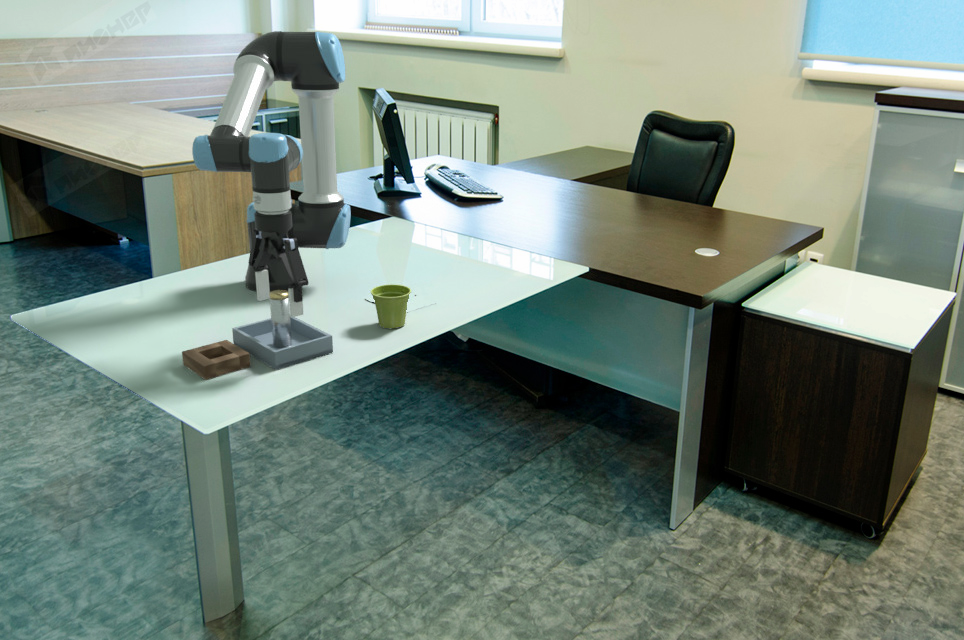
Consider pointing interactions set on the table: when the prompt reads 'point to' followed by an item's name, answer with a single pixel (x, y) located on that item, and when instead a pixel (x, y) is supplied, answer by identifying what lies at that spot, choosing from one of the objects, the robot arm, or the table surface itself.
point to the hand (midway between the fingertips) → (280, 307)
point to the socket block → (216, 359)
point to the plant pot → (391, 304)
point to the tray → (304, 347)
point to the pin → (280, 318)
